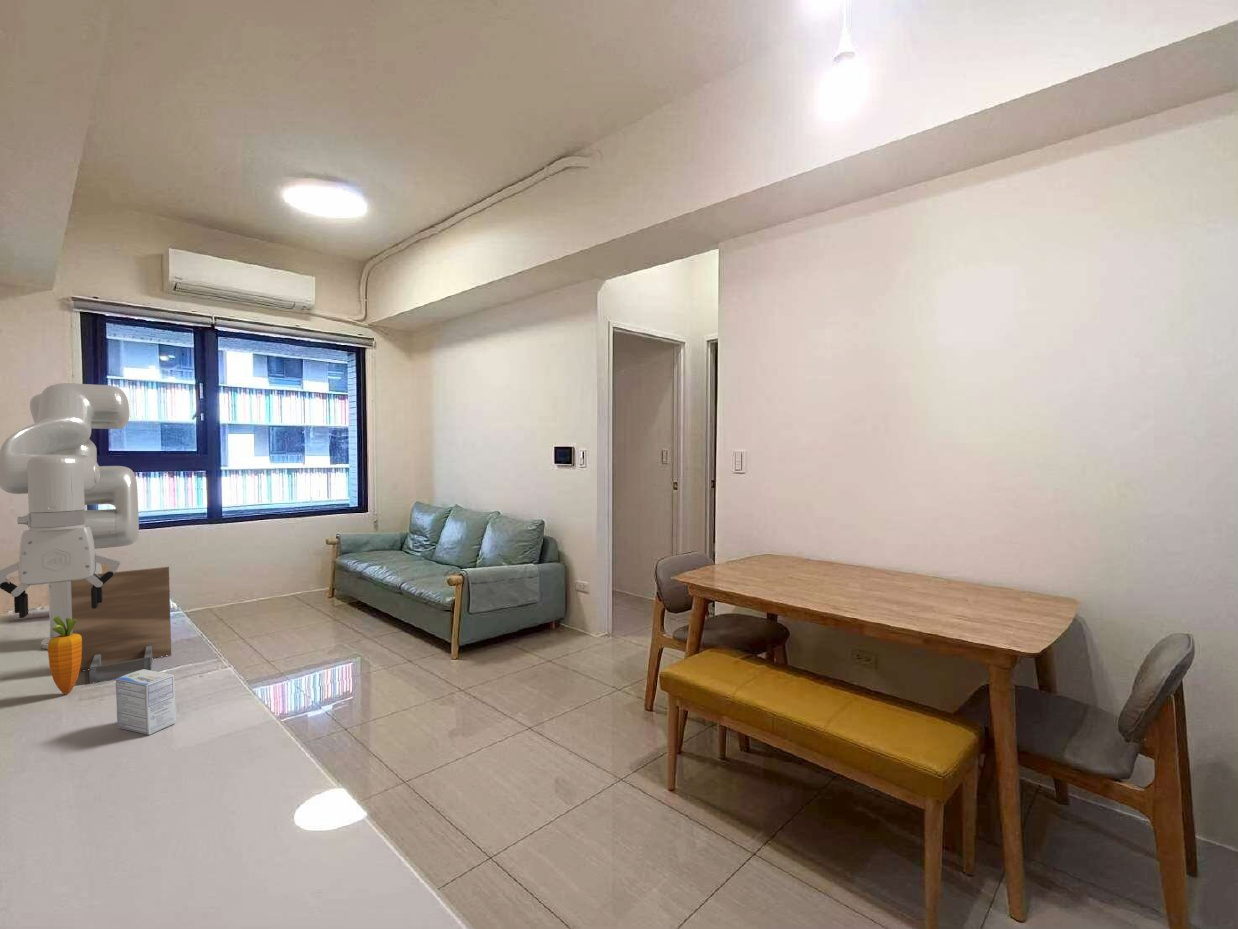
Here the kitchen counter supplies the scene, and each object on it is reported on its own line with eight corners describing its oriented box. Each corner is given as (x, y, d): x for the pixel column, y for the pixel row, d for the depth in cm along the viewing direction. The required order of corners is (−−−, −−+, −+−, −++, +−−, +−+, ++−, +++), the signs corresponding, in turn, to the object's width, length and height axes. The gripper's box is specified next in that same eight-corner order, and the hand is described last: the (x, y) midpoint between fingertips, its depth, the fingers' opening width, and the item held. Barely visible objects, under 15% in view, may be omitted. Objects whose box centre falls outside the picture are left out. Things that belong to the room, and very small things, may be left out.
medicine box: (176, 724, 97) (175, 673, 97) (147, 736, 93) (146, 684, 93) (145, 716, 100) (144, 668, 100) (116, 728, 96) (114, 677, 95)
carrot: (90, 691, 110) (87, 614, 109) (56, 702, 105) (53, 621, 105) (77, 687, 112) (74, 611, 112) (43, 697, 108) (40, 618, 107)
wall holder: (74, 670, 120) (71, 576, 120) (171, 653, 130) (168, 566, 129) (66, 688, 112) (63, 586, 111) (170, 668, 121) (168, 575, 121)
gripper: (-16, 526, 99) (-13, 625, 99) (117, 518, 109) (119, 607, 110) (-5, 523, 105) (-2, 616, 105) (120, 515, 115) (122, 600, 116)
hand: (60, 611), depth 107 cm, fingers open, 9 cm apart
